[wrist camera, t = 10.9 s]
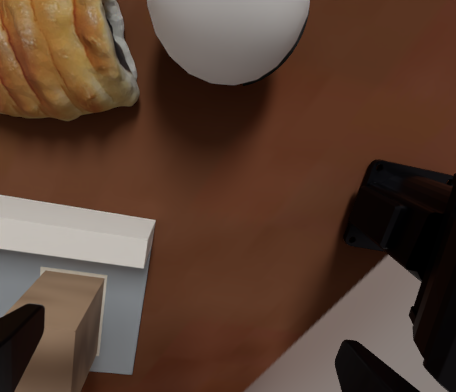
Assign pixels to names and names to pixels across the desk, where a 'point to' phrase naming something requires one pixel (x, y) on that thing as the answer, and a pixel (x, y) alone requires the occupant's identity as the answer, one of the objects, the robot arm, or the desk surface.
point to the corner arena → (80, 265)
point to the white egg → (229, 36)
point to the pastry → (64, 59)
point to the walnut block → (63, 331)
